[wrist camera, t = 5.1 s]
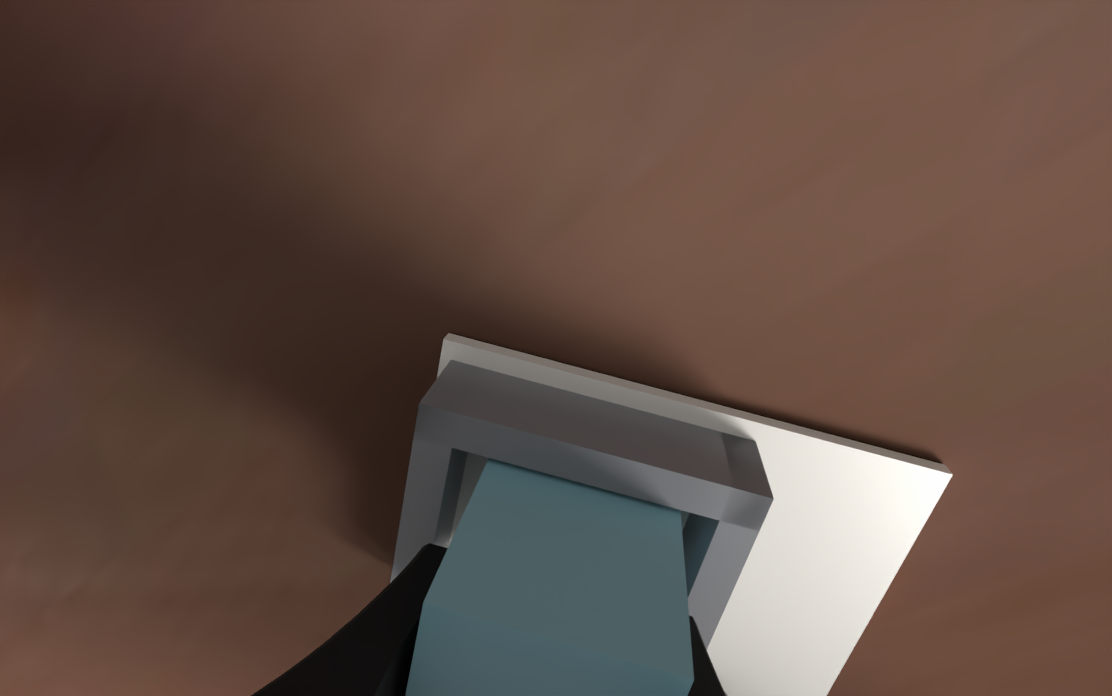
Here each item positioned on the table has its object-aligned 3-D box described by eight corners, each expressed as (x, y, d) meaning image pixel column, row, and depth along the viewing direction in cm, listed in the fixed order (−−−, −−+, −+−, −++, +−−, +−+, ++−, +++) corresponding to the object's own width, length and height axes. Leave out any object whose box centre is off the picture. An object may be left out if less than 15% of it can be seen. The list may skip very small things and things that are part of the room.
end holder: (663, 651, 17) (666, 740, 15) (414, 581, 18) (377, 658, 15) (753, 432, 15) (774, 498, 12) (455, 353, 15) (419, 402, 12)
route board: (754, 804, 19) (765, 880, 17) (384, 698, 19) (358, 761, 18) (945, 464, 14) (989, 520, 12) (448, 332, 15) (420, 367, 13)
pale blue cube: (623, 610, 16) (610, 872, 11) (473, 567, 16) (384, 804, 11) (676, 460, 15) (694, 680, 9) (508, 414, 15) (423, 602, 9)
